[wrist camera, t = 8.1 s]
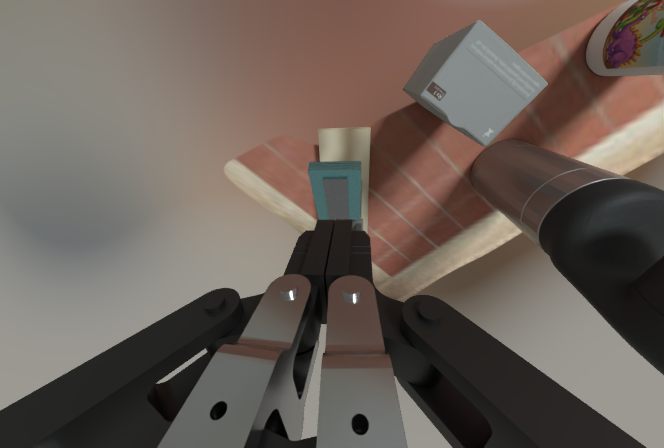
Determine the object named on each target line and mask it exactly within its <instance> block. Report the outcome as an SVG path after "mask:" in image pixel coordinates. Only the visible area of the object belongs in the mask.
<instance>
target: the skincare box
mask: <svg viewBox="0 0 664 448" xmlns="http://www.w3.org/2000/svg"><path fill="white" fill-rule="evenodd" d="M547 85H548V83H547V82H546V81H545V80H544V79H543V78H542V77H541V76H540V75H539V74H538V73H537V72H536V71H535V70H534V69H533V68H532V67H531V66H530V65H529V64H528V63H527V62H526V61H525V60H524V59H522V58H521V57H520V56H519V55H518V54H517V53H516V52H515V51H514V50H513V49H512V48H511V47H509V45H507V44H506V43H505V42H504V41H503V40H502V39H501V38H500V37H499V36H497V35H496V34H495V33H494V32H493V31H492V30H491V29H490V28H489V27H487V26H486V25H485V24H484V23H483V22H481V21H480V20H478V21H477V22H475V23H473V24H471V25H469V26H467V27H465V28H463V29H461V30H459V31H458V32H456V33H454V34H452V35H450V36H448V37H446V38H445V39H443V40H441V41H439V42H437V43H435V44H434V45H433V46H432V47H431V49H430V50H429V52H428V53H427V55H426V56H425V57H424V59H423V61H422V62H421V63H420V65H419V66H418V68H417V69H416V71H415V72H414V74H413V75H412V77H411V78H410V80H409V81H408V82H407V84H406V85H405V87H404V88H403V90H404V91H405V92H406V93H407V94H409V95H410V96H411V97H412V98H413V99H415V100H416V101H417V102H418V103H419V104H420V105H422V106H423V107H424V108H426V109H427V110H428V111H430V112H431V113H433V114H434V115H436V116H437V117H438V118H440V119H441V120H443V121H444V122H446V123H447V124H449V125H450V126H452V127H454V128H455V129H457V130H458V131H460V132H461V133H463V134H464V135H466V136H467V137H469V138H471V139H472V140H474V141H475V142H477V143H478V144H480V145H482V146H485V147H486V146H487V145H488V144H489V143H490V142H491V141H492V140H493V139H494V138H495V137H496V136H497V135H498V134H499V133H500V132H501V131H502V130H503V129H504V128H505V127H506V126H507V125H508V124H509V123H510V122H511V121H512V120H513V119H514V118H515V117H516V116H517V115H518V114H519V113H520V112H521V111H522V110H523V109H524V108H525V107H526V106H527V105H528V104H529V103H530V102H531V101H532V100H533V99H534V98H535V97H536V96H537V95H538V94H539V93H540V92H541V91H542V90H543V89H544V88H545V87H546V86H547Z"/></svg>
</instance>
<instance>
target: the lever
mask: <svg viewBox="0 0 664 448" xmlns="http://www.w3.org/2000/svg"><path fill="white" fill-rule="evenodd" d="M308 174H309V178H310V182H311V187H312V191H313V196H314V200H315V205H316V209H317V214H318V218H319V220H336V219H352V220H360V206H361V161H331V162H309V167H308Z"/></svg>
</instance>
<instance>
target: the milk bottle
mask: <svg viewBox="0 0 664 448" xmlns="http://www.w3.org/2000/svg"><path fill="white" fill-rule="evenodd" d="M586 62H587V64H588V67H589V68H590V69H591V70H592V71H593V72H594V73H596V74H598V75H601V76H638V75H664V0H629V1H627V2H625V3H623V4H622V5H620V6H619V7H617V8H616V9H614V10H613V11H612V12H611V13H610V14H608V15H607V16H606V17H605V18H604V19H603V20H602V21H601V23H600V24H599V25H598V26H597V28H596V29H595V31H594V32H593V34H592V36H591V38H590V40H589V42H588V46H587V49H586Z"/></svg>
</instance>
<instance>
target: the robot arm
mask: <svg viewBox="0 0 664 448" xmlns="http://www.w3.org/2000/svg"><path fill="white" fill-rule="evenodd" d="M471 181H472V184H473V186H474V187H475V189H476V190H477V191H478V192H479V193H480V194H482V195H483V196H484V197H485V198H486V199H487V200H488V201H489V202H490V203H491V204H492V205H494V206H495V207H496V208H497V209H498V210H499V211H500V212H501V213H502V214H504V215H505V216H506V217H507V218H508V219H509V220H510V221H511V222H512V223H514V224H515V225H516V226H517V227H518V228H519V229H520V230H521V231H522V232H523V233H525V234H526V235H527V236H528V237H529V238H530V239H531V240H533V241H534V242H535V243H536V244H537V245H538V246H539V247H540V248H541V249H543V250H544V251H545V252H546V253H547V254H548V255H549V256H550V258H551V261H552V263H553V264H554V266H555V267H556V268H557V269H558V271H559V272H560V273H561V274H562V275H563V276H564V277H565V278H566V279H567V280H568V281H569V282H570V283H571V284H572V285H573V286H574V287H575V288H576V289H577V290H578V291H579V292H580V293H581V294H582V295H583V296H584V297H585V298H586V299H587V300H588V302H589V303H590V304H591V305H592V306H593V307H594V308H595V309H596V310H597V311H598V312H599V313H600V314H601V315H602V317H603V318H604V319H605V320H606V321H607V322H608V323H609V324H610V325H611V326H612V327H613V328H614V329H615V330H616V331H617V332H618V333H619V334H620V335H621V336H622V337H623V338H624V339H625V340H626V342H628V344H629V345H631V346H632V347H633V348H634V349H635V350H636V351H637V352H638V353H639V354H640V355H641V356H643V357H644V358H645V359H646V360H647V361H648V362H649V363H650V364H651V365H653V366H654V367H655V368H656V369H657V370H658V371H660V372H661V373H662V374H663V375H664V191H663V190H660V189H658V188H656V187H653V186H650V185H648V184H645V183H641V182H639V181H636V180H633V179H630V178H627V177H624V176H621V175H618V174H615V173H612V172H610V171H606V170H603V169H601V168H598V167H595V166H592V165H589V164H586V163H583V162H581V161H578V160H575V159H572V158H569V157H566V156H564V155H561V154H558V153H555V152H552V151H549V150H547V149H544V148H541V147H538V146H536V145H533V144H530V143H527V142H524V141H521V140H516V139H508V140H504V141H500V142H498V143H495V144H493V145H491V146H490V147H488V148H487V149H486V150H484V151H483V152H482V153H481V154H480V155H479V157H478V158H477V159H476V161H475V163H474V164H473V167H472V170H471ZM321 324H327V330H326V331H327V332H326V348H325V353H323V357H322V366H321V367H322V368H321V382H320V397H319V414H318V429H317V436H316V437H311V438H307V439H303V440H301V436H302V429H303V421H304V407H305V401H306V397H307V392H308V388H309V384H310V380H311V376H312V371H313V367H314V363H315V359H316V355H317V351H318V346H319V333H320V327H321ZM205 348H206V350H207V351H208V352H207V353H206V354H205V355H203V356H202V357H200V358H199V359H197V360H196V361H195V362H193V363H192V364H190V365H189V366H188V367H186V368H185V369H183V370H182V371H181V372H179V373H178V374H176V375H175V376H174V377H172V378H171V379H170V380H168V381H166V382H164V383H160V384H156V383H157V382H158V381H159V380H161V379H162V378H164V377H165V376H167V375H168V374H169V373H171V372H172V371H174V370H175V369H176V368H178V367H179V366H181V365H182V364H184V363H185V362H186V361H188V360H189V359H191V358H192V357H194V356H195V355H196V354H198V353H199V352H200V351H202V350H204V349H205ZM394 376H396V377H397V379H398V382H399V383H400V384H401V386H402V387H403V388H404V390H405V391H406V392H407V393H408V394H409V396H410V397H411V398H412V399H413V400H414V402H415V403H416V404H417V405H418V406H419V407H420V409H421V410H422V411H423V412H424V413H425V415H426V416H427V417H428V418H429V419H430V421H431V422H432V423H433V424H434V426H435V427H436V428H437V429H438V430H439V432H440V433H441V434H442V435H443V436H444V438H445V439H446V440H447V441H448V442H449V444H450V445H451V446H452V447H453V448H646V447H645V446H644V445H642V444H641V443H639V442H638V441H637V440H635V439H634V438H633V437H631V436H630V435H628V434H627V433H625V432H624V431H623V430H621V429H620V428H619V427H617V426H616V425H615V424H613V423H611V422H610V421H609V420H607V419H606V418H605V417H603V416H602V415H601V414H599V413H598V412H597V411H595V410H594V409H592V408H591V407H589V406H588V405H587V404H585V403H584V402H582V401H581V400H580V399H578V398H577V397H576V396H574V395H573V394H572V393H570V392H569V391H567V390H566V389H565V388H563V387H562V386H560V385H559V384H558V383H556V382H555V381H554V380H552V379H551V378H549V377H548V376H546V375H545V374H544V373H542V372H541V371H540V370H538V369H537V368H536V367H534V366H533V365H531V364H530V363H529V362H527V361H526V360H524V359H523V358H522V357H520V356H519V355H517V354H516V353H515V352H513V351H512V350H511V349H509V348H508V347H506V346H505V345H504V344H502V343H501V342H499V341H498V340H497V339H495V338H494V337H492V336H491V335H490V334H488V333H487V332H486V331H484V330H483V329H481V328H480V327H479V326H477V325H476V324H475V323H473V322H472V321H470V320H469V319H468V318H466V317H465V316H463V315H462V314H461V313H459V312H458V311H456V310H455V309H454V308H452V307H451V306H450V305H448V304H447V303H445V302H444V301H442V300H440V299H438V298H436V297H433V296H429V295H416V296H413V297H410V298H409V299H407V301H405V303H404V302H400V301H397V300H394V299H391V298H388V297H386V296H384V295H383V294H381V293H380V292H379V291H378V290H377V289H376V287H375V286H374V283H373V278H372V263H371V247H370V237H369V236H368V234H367V233H366V232H365V231H353V223H352V219H336V220H318V221H317V224H316V227H315V230H314V231H305V232H304V233H303V234H302V235H301V236H300V237H299V238H298V241H297V243H296V246H295V248H294V250H293V253H292V255H291V258H290V260H289V263H288V265H287V268H286V270H285V273H284V275H283V276H282V277H279V278H277V279H276V280H274V281H273V282H272V283H271V284H270V285H269V287H268V288H267V290H266V292H265V293H263V294H260V295H256V296H251V297H247V298H242V299H240V296H239V294H238V293H237V291H235V290H233V289H230V288H221V289H216V290H213V291H211V292H209V293H207V294H205V295H203V296H201V297H199V298H198V299H196V300H194V301H193V302H191V303H189V304H187V305H185V306H184V307H182V308H180V309H178V310H177V311H175V312H173V313H171V314H170V315H168V316H166V317H165V318H163V319H161V320H159V321H157V322H156V323H154V324H152V325H150V326H149V327H147V328H145V329H143V330H141V331H140V332H138V333H136V334H135V335H133V336H131V337H129V338H127V339H126V340H124V341H122V342H120V343H119V344H117V345H115V346H113V347H112V348H110V349H108V350H106V351H105V352H103V353H101V354H99V355H98V356H96V357H94V358H92V359H91V360H89V361H87V362H85V363H83V364H82V365H80V366H78V367H76V368H75V369H73V370H71V371H69V372H68V373H66V374H64V375H62V376H61V377H59V378H57V379H55V380H54V381H52V382H50V383H48V384H47V385H45V386H43V387H41V388H40V389H38V390H36V391H34V392H32V393H31V394H29V395H27V396H25V397H24V398H22V399H20V400H18V401H17V402H15V403H13V404H11V405H10V406H8V407H6V408H4V409H3V410H1V411H0V448H408V447H407V442H406V437H405V431H404V426H403V421H402V415H401V410H400V405H399V400H398V394H397V389H396V384H395V378H394Z"/></svg>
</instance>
